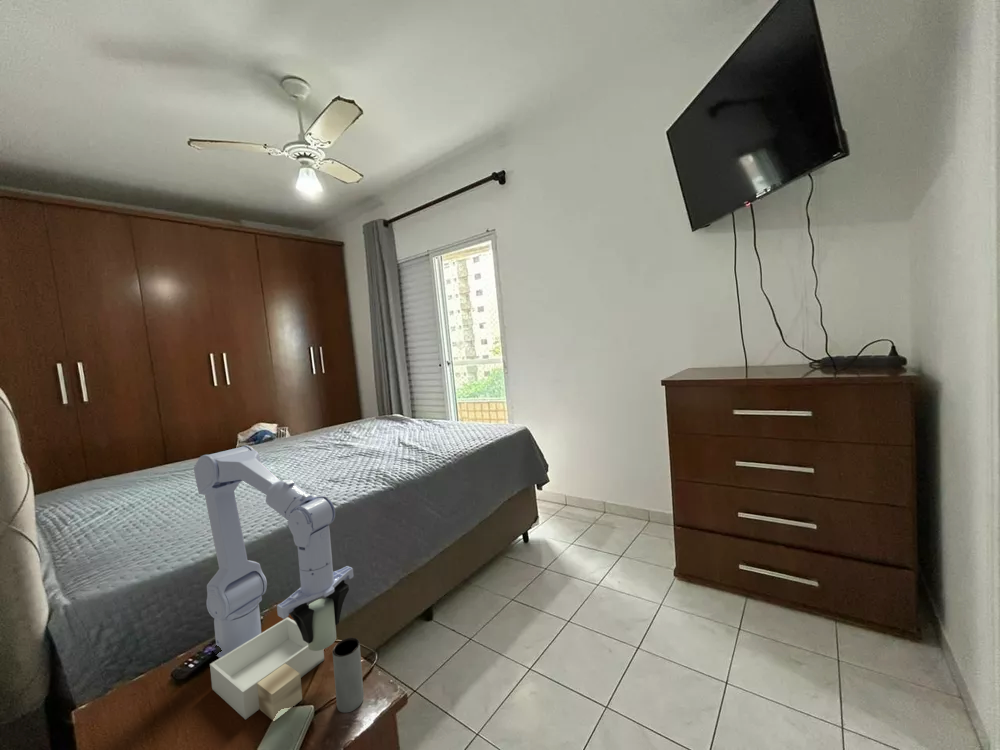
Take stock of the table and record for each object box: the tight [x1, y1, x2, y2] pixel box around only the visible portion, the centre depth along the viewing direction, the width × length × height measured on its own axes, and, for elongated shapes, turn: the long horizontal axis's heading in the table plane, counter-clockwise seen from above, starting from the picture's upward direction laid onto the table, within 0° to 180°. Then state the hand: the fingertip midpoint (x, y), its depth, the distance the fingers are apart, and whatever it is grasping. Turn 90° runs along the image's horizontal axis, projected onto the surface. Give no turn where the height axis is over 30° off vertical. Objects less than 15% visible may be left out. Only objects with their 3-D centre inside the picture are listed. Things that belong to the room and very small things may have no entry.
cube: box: [257, 664, 303, 721], centre depth 70 cm, size 5×5×5 cm
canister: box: [308, 597, 337, 651], centre depth 75 cm, size 5×5×7 cm
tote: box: [209, 616, 325, 720], centre depth 77 cm, size 13×15×5 cm
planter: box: [332, 637, 365, 714], centre depth 69 cm, size 4×4×10 cm
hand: (321, 631), depth 75 cm, fingers closed on canister, 5 cm apart
